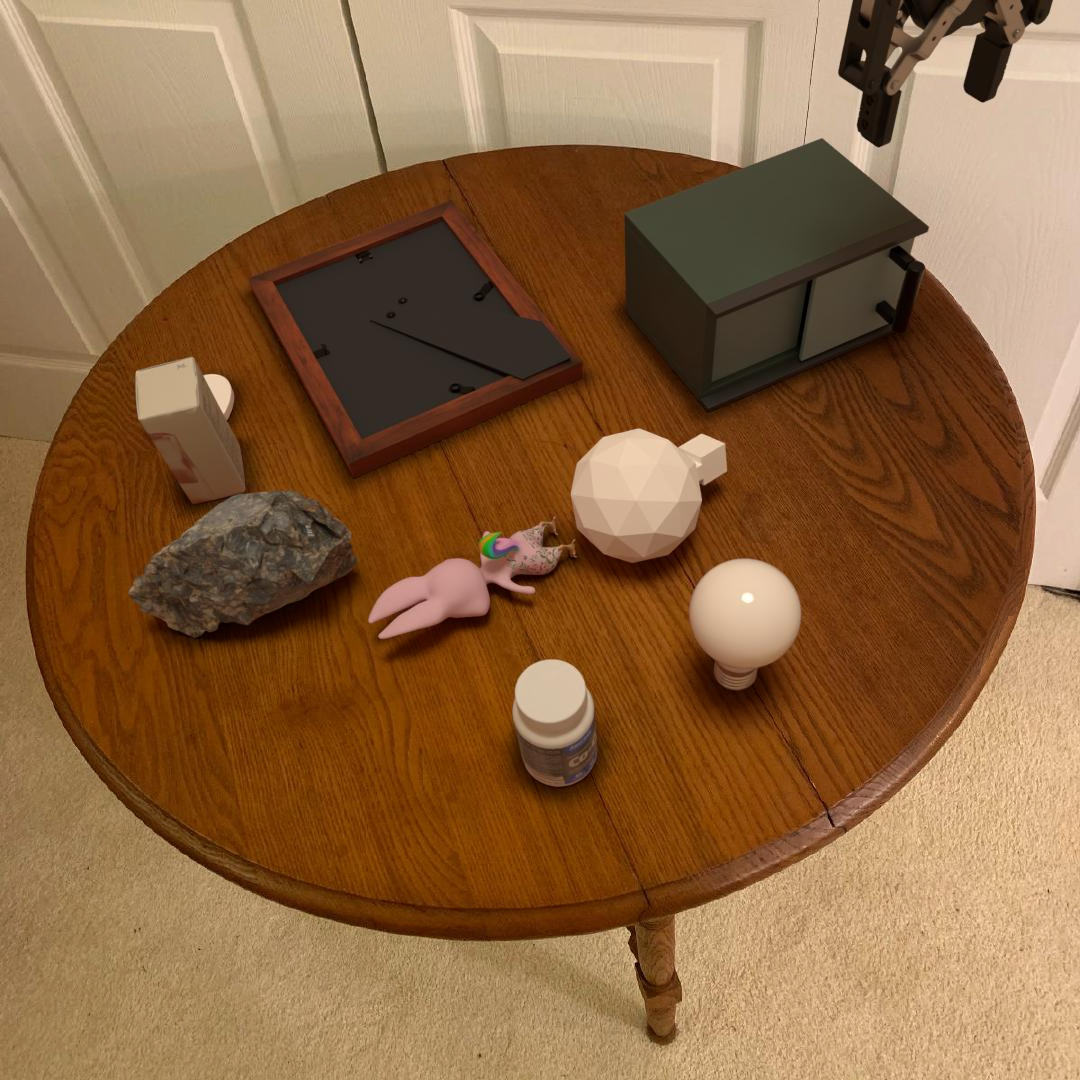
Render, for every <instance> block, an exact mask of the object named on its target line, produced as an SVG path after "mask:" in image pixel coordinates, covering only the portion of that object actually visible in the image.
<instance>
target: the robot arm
mask: <svg viewBox="0 0 1080 1080" xmlns="http://www.w3.org/2000/svg"><path fill="white" fill-rule="evenodd" d="M1053 2H1054V0H852V2H851V7H850V12H849V16H848V21H847V27H846V30H845V36H844V42H843V45H842V50H841V55H840V60H839V65H838V69H837V74H838V77H839V78H840V79H842V80H844V81H845V82H847V83H848V84H850V85H852V87H854V88H856V89H857V90H859V91H861V92H862V93H861V100H860V103H859V111H858V117H857V120H856V121H857V122H856V128H857V129H856V130H857V132H858V133H860V136H861V137H862V139H864V140H865V141H867V142H868V143H870V144H871V145H873V146H874V147H876V148H881V147H884V146H886V145H888V144H890V143H891V141H892V138H893V134H894V129H895V125H896V120H897V116H898V111H899V106H900V101H901V96H902V90H901V88H902V87H903V85H904V83H905V82H906V80H907V79H908V77H909V75H910V74H911V73H912V71H913V70H914V69H915V67H916V65H917V64H918V63H919V62H921V61H922V62H923V61H926V60H927V59H929V58H930V57H931V55H932V54H933V53H934V51H935V49H936V48H937V46H938V45H939V43H940V42H941V40H942V39H943V38H946V37H948V36H951V35H952V34H954V33H956V32H957V31H958V30H960V29H961V28H962V27H973V26H975V25H977V24H979V25H980V27H981V28H982V29H983V30H984V31H983V32H980V33H978V34H976V35H975V40H974V43H973V47H972V50H971V54H970V58H969V62H968V64H967V69H966V72H965V77H964V81H963V86H962V87H963V91H964V93H966V94H967V95H968V96H970V97H971V98H973V99H975V100H976V101H978V102H979V103H982V104H984V103H986V102H988V101H991V100H993V99H995V97H996V95H997V93H998V89H999V86H1000V85H1001V83H1002V82H1003V79H1004V76H1005V72H1006V69H1007V64H1008V62H1009V59H1010V56H1011V52H1012V49H1013V46H1014V45H1015V44H1017V42H1019V41H1020V40H1021V39H1022V37H1023V35H1024V33H1025V30H1026V28H1027V27H1028V26H1030V25H1031V24H1034V25H1036V26H1039V25H1041V24H1042V23H1044V22H1045V21H1046V20H1047V18H1048V17H1049V15H1050V13H1051V9H1052V6H1053ZM909 17H910V18H911V21H912V23H913V24H914V25H915V26H916V27H917V28H919V29H921V30H923V31H922V32H921V34H919V35H917V36H911V35H910V34H909V33H906V32H905V31H904V26H905V23H906V22H907V20H908V19H909ZM897 48H901V53H900V55H899V56H898V58H897V59H896V61H895V62H894V64H893V65H892V67H891V68H890V67H889V66H887V65H886V64H887V62H888V60H889V59H890V57H891V56H892V54H893V53H894V52H895V50H896V49H897ZM863 53H865V59H864V60H862V57H863Z"/></svg>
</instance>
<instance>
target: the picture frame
mask: <svg viewBox="0 0 1080 1080" xmlns="http://www.w3.org/2000/svg"><path fill="white" fill-rule="evenodd" d="M247 280H248V282H249V285H250V288H251V289H252V290H251V291H252V293H253V294H254V297H255V298H256V300H257V302H258V303H259V306H260V307H261V310H262V311H263V313H264V315H265V317H266V318H267V320H268V322H269V324H270V326H271V328H272V329H273V331H274V333H275V335H276V337H277V339H278V340H279V343H280V344H281V346H282V348H283V350H284V352H285V354H286V355H287V357H288V359H289V361H290V363H291V365H292V367H293V369H294V370H295V372H296V374H297V376H298V378H299V379H300V382H301V383H302V385H303V387H304V389H305V390H306V393H307V394H308V396H309V398H310V400H311V402H312V403H313V405H314V407H315V409H316V411H317V413H318V415H319V416H320V418H321V420H322V422H323V425H324V426H325V427H326V429H327V431H328V433H329V435H330V437H331V438H332V441H333V442H334V443H335V446H336V449H338V451H339V454H340V455H341V457H342V459H343V462H344V463H345V464H346V466H347V468H348V470H349V472H350V474H351V475H352V477H353V479H356V478H358V477H361V476H362V475H365V474H367V473H369V472H372V471H375V470H376V469H379V468H381V467H383V466H385V465H387V464H390V463H392V462H395V461H396V460H399V459H401V458H404V457H406V456H409V455H410V454H413V453H415V452H417V451H419V450H421V449H424V448H426V447H428V446H431V445H433V444H435V443H438V442H440V441H442V440H445V439H447V438H449V437H451V436H454V435H456V434H458V433H460V432H462V431H465V430H468V429H470V428H472V427H474V426H477V425H479V424H481V423H483V422H485V421H488V420H490V419H492V418H495V417H497V416H499V415H501V414H504V413H505V412H508V411H511V410H513V409H515V408H517V407H519V406H522V405H524V404H526V403H528V402H531V401H534V400H535V399H537V398H540V397H542V396H545V395H547V394H549V393H551V392H554V391H556V390H558V389H561V388H563V387H565V386H567V385H569V384H572V383H575V382H577V381H579V380H582V379H583V378H584V373H583V371H584V370H583V369H584V368H583V361H582V360H581V359H580V357H579V356H578V355H577V354H576V353H575V351H574V350H573V349H572V348H571V346H570V345H569V344H568V343H567V341H566V339H564V338H563V336H562V335H561V334H560V333H559V331H558V330H557V329H556V327H554V325H553V324H552V323H551V321H550V320H549V319H548V318H547V317H546V315H545V314H544V313H543V311H542V310H541V309H540V308H539V307H538V305H537V304H536V303H535V302H534V300H533V298H531V297H530V296H529V294H528V293H527V291H525V289H524V288H523V287H522V285H521V284H520V282H518V281H517V279H516V278H515V276H514V275H513V274H512V273H511V272H510V270H509V269H508V268H507V267H506V266H505V264H504V263H503V262H502V261H501V260H500V258H499V257H498V255H497V254H496V253H495V252H494V250H493V249H492V248H491V247H490V246H489V244H488V243H487V242H486V241H485V239H484V238H483V237H482V236H481V234H480V233H479V232H478V231H477V229H476V228H475V227H474V226H473V224H472V223H471V222H470V221H469V220H468V218H467V217H466V216H465V215H464V213H463V212H462V211H461V210H460V208H459V207H458V206H457V205H456V203H455V202H454V201H453V200H452V199H449V200H447V201H444V202H441V203H439V204H436V205H433V206H431V207H428V208H426V209H423V210H421V211H418V212H416V213H413V214H410V215H407V216H405V217H402V218H399V219H397V220H395V221H391V222H389V223H387V224H384V225H380V226H379V227H376V228H373V229H371V230H369V231H368V230H367V231H366V232H363V233H361V234H358V235H356V236H353V237H350V238H347V239H345V240H343V241H342V240H341V241H340V242H337V243H335V244H332V245H329V246H326V247H324V248H321V249H319V250H317V251H314V252H311V253H309V254H305V255H304V256H301V257H298V258H296V259H292V260H291V261H288V262H285V263H283V264H280V265H278V266H275V267H272V268H269V269H267V270H264V271H262V272H259V273H257V274H254V275H252V276H251V275H250V276H249V277H247Z"/></svg>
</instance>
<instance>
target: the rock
mask: <svg viewBox="0 0 1080 1080" xmlns="http://www.w3.org/2000/svg"><path fill="white" fill-rule="evenodd" d="M352 538H353V534H352V531H350V529H349V528H348V527H347V526H346V525H345V523H344V522H343V521H341V520H340V519H338V518H337V517H336V516H335V515H333V514H332V513H331V512H330V511H329V509H327V508H326V507H325V506H323V505H322V504H320V502H319V501H318V500H317V499H313V498H309V497H306V496H304V495H303V494H302V493H300V492H298V491H295V490H292V489H289V490H286V491H283V490H279V489H277V490H271V491H270V490H269V491H256V492H250V493H239V494H236V495H232V496H229V498H228V497H227V498H226V499H225V500H223V502H220V503H218V504H217V505H216V506H214V507H213V508H212V509H211V510H209V511H207V513H205V514H204V515H203V516H201V517H200V518H199V519H198V520H196V521H195V522H194V524H193V526H191V527H188V529H186V530H185V531H183V532H182V534H181V535H180V536H179V537H178V538H176V539H175V540H173V541H172V542H170V543H169V544H167V545H166V546H164V547H162V548H161V550H159V551H157V552H156V553H154V554H153V555H152V556H151V557H150V561H149V563H148V564H146V565H145V566H144V568H143V574H141V575H140V576H137V577H135V579H134V580H133V583H132V584H133V585H132V586H131V587H130V589H129V591H128V592H127V594H128V595H129V597H130V599H131V600H132V601H133V602H135V603H136V604H138V605H139V606H140V607H139V610H140V611H141V612H142V613H144V614H145V615H149V616H154V617H156V618H159V619H160V620H162V621H164V622H166V625H167V627H168V628H170V629H172V630H174V631H178V632H180V633H183V634H185V635H187V636H190V637H192V638H193V639H196V638H198V637H201V636H203V634H204V633H205V632H208V633H212V632H215V631H217V630H218V629H219V626H220V624H221V623H224V624H227V623H236V624H238V625H243V626H244V625H245V626H249V625H251V624H252V623H253V622H254V621H255V620H257V619H258V618H260V617H262V616H264V615H265V614H270V613H272V612H274V611H277V610H279V609H282V608H283V607H285V606H287V605H288V604H294V603H295V602H296V603H297V602H298V601H301V600H303V599H305V598H307V597H308V596H309V595H310V594H311V593H312V592H314V591H316V590H317V589H320V588H323V587H325V586H327V585H328V584H330V583H333V582H335V581H336V580H337V579H340V578H342V577H344V576H347V575H348V574H349V573H350V572H351V571H352V570H353V569H354V568H355V567H356V565H357V560H358V559H357V556H355V555H354V554H353V547H354V546H353V545H352V543H350V542H351V540H352Z"/></svg>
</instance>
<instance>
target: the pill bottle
mask: <svg viewBox="0 0 1080 1080" xmlns="http://www.w3.org/2000/svg"><path fill="white" fill-rule="evenodd" d="M512 721H513V725H514V726H513V727H514V729H515V733H516V737H517V742H518V746H519V751H520V755H521V759H522V762H523V764H524V767H525V769H526V770H527V772H528V773H529V775H531V776H532V777H533V778H534V779H535V780H536V781H538V782H540V783H542V784H544V785H547V786H550V787H557V788H558V787H568V786H571V785H574V784H576V783H578V782H580V781H582V780H583V779H584V778H585V777H586V776H588V774H589V773H590V772H591V770H592V769H593V768H594V765H595V763H596V761H597V757H598V737H597V726H596V725H597V723H596V710H595V702H594V699H593V695H592V693H591V692H590V690H589V689H588V687H587V686H586V682H585V679H584V676H583V675H582V673H581V672H580V671H579V670H578V669H577V668H576V667H575V666H574V665H572V664H571V663H569V662H567V661H565V660H561V659H553V658H552V659H551V658H550V659H542V660H539V661H536V662H534V663H532V664H531V665H529V666H527V667H526V668H525V669H524V670H523V671H522V673H521V674H520V675H519V677H518V679H517V681H516V684H515V687H514V700H513V704H512Z"/></svg>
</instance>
